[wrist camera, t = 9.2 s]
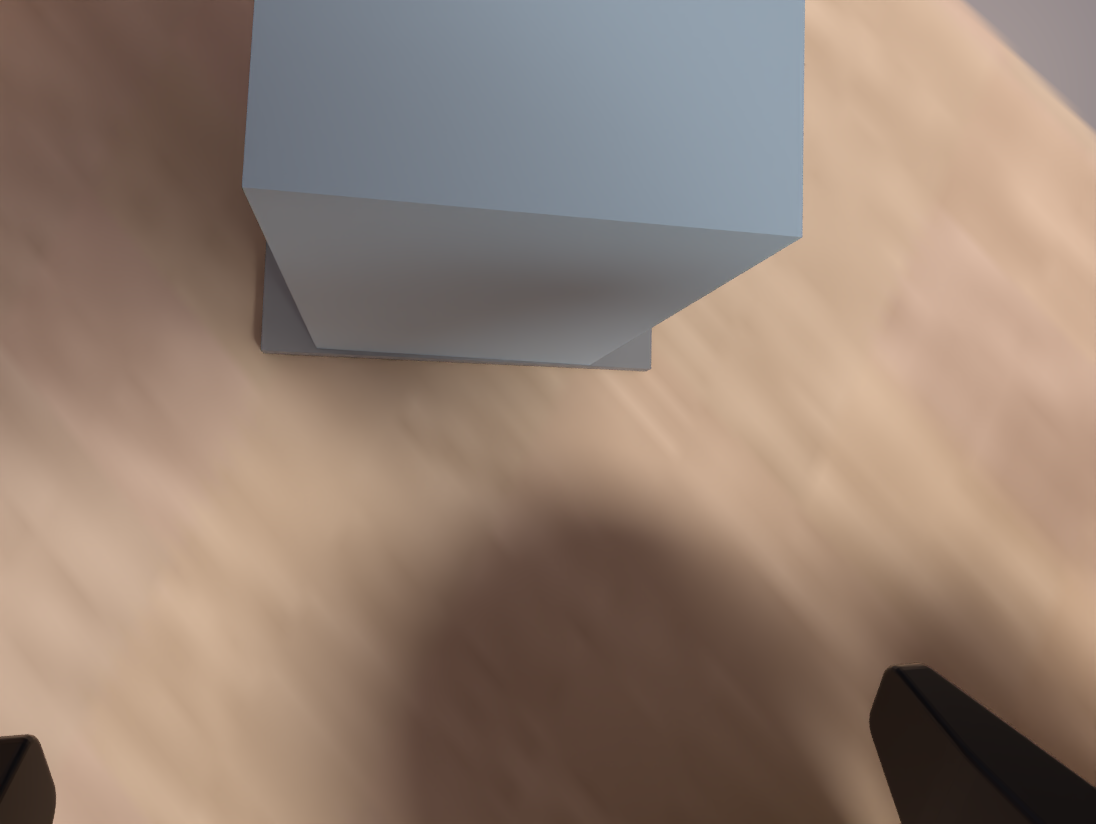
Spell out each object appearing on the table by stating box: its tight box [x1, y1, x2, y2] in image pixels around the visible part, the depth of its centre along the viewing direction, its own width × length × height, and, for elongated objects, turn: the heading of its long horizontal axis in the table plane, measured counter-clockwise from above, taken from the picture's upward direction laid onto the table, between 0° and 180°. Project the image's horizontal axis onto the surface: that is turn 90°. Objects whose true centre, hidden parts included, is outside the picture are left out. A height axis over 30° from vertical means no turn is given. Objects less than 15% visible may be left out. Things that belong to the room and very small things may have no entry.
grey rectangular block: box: [242, 0, 805, 365], centre depth 14 cm, size 8×6×10 cm
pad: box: [261, 240, 652, 371], centre depth 19 cm, size 8×8×1 cm
